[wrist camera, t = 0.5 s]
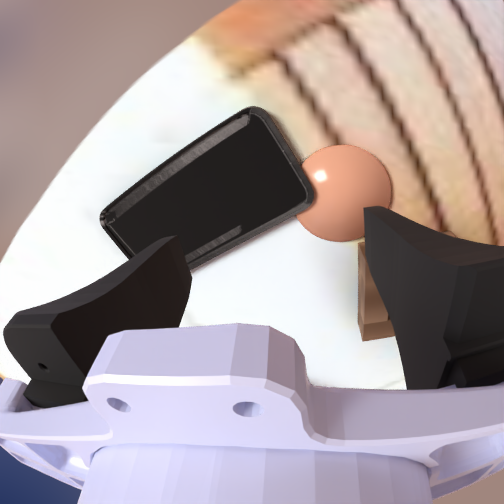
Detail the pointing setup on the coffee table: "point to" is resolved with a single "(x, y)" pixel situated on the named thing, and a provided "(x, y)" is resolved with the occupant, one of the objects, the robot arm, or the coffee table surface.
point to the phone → (213, 191)
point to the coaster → (343, 191)
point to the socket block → (372, 302)
